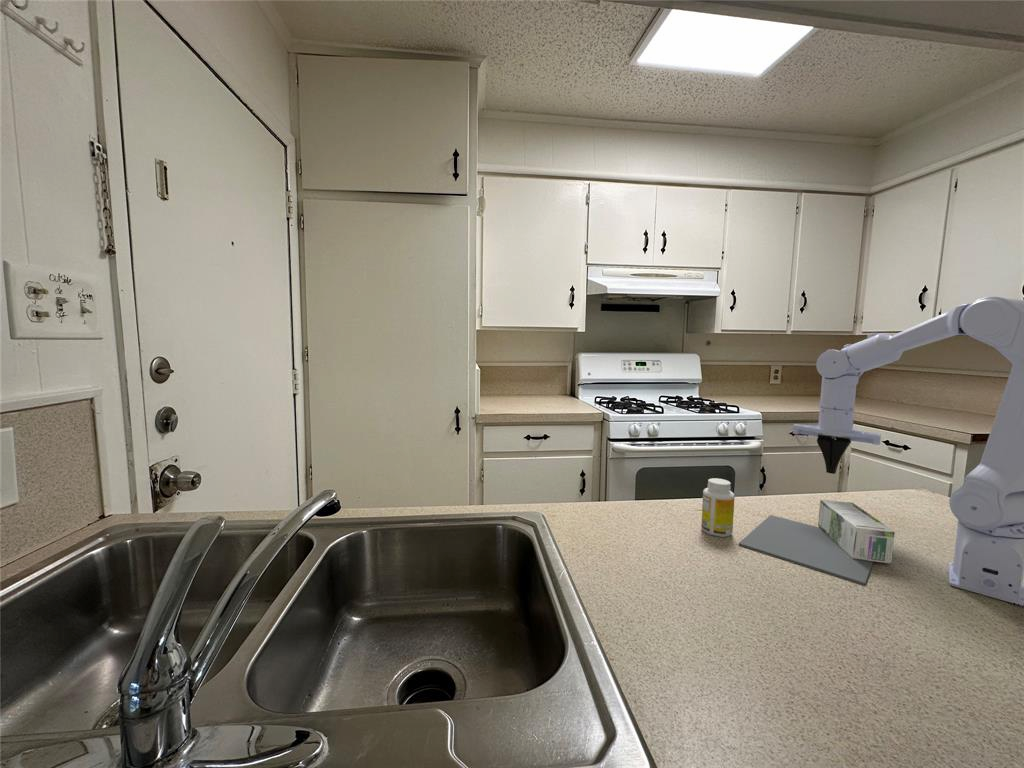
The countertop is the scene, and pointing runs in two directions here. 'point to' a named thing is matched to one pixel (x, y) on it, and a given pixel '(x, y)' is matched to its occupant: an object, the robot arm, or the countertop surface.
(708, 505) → the supplement bottle
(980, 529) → the robot arm
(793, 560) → the mat
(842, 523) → the syrup box
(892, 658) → the countertop surface
